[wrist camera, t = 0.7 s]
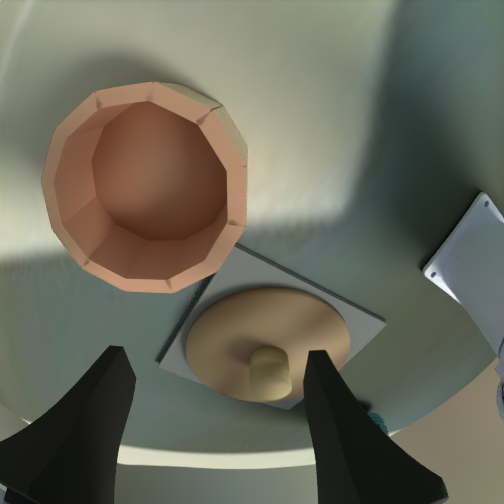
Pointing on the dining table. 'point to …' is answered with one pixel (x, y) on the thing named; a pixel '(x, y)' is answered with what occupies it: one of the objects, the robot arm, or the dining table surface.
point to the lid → (264, 342)
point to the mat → (255, 276)
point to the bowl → (147, 186)
